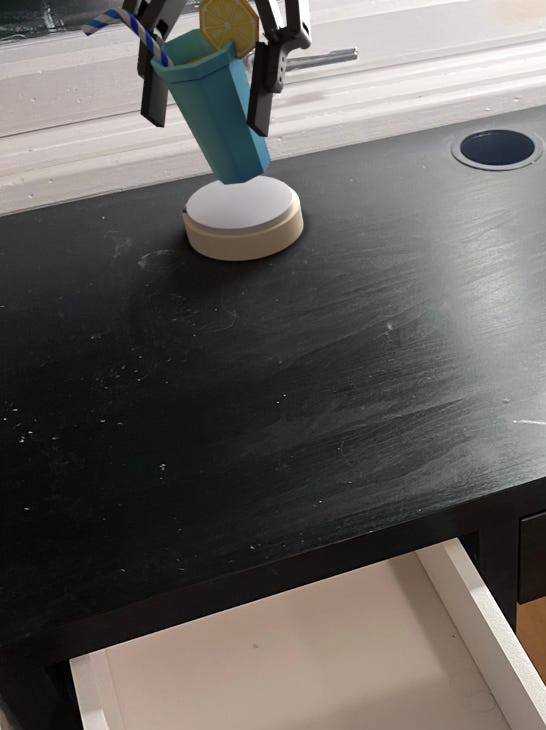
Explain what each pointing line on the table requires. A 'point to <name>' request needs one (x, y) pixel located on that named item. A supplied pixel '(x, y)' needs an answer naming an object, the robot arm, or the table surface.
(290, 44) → the robot arm
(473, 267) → the table surface
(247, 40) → the cup
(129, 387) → the table surface
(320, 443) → the table surface
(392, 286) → the table surface
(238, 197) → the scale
